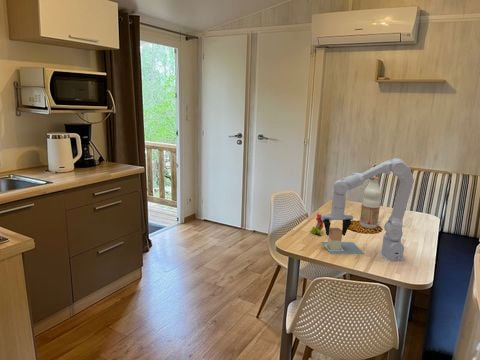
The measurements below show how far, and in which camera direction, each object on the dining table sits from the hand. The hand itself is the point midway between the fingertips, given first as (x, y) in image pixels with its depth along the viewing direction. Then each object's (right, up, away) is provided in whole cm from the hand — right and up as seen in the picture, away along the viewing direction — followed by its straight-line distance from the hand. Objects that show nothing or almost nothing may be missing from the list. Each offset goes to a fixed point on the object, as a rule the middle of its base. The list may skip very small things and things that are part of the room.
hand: (335, 234), depth 166 cm
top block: (0, -2, 0) cm, 2 cm away
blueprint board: (+4, -7, +2) cm, 8 cm away
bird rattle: (-4, -3, +20) cm, 20 cm away
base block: (0, -6, +1) cm, 6 cm away
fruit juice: (+28, -1, +36) cm, 45 cm away
